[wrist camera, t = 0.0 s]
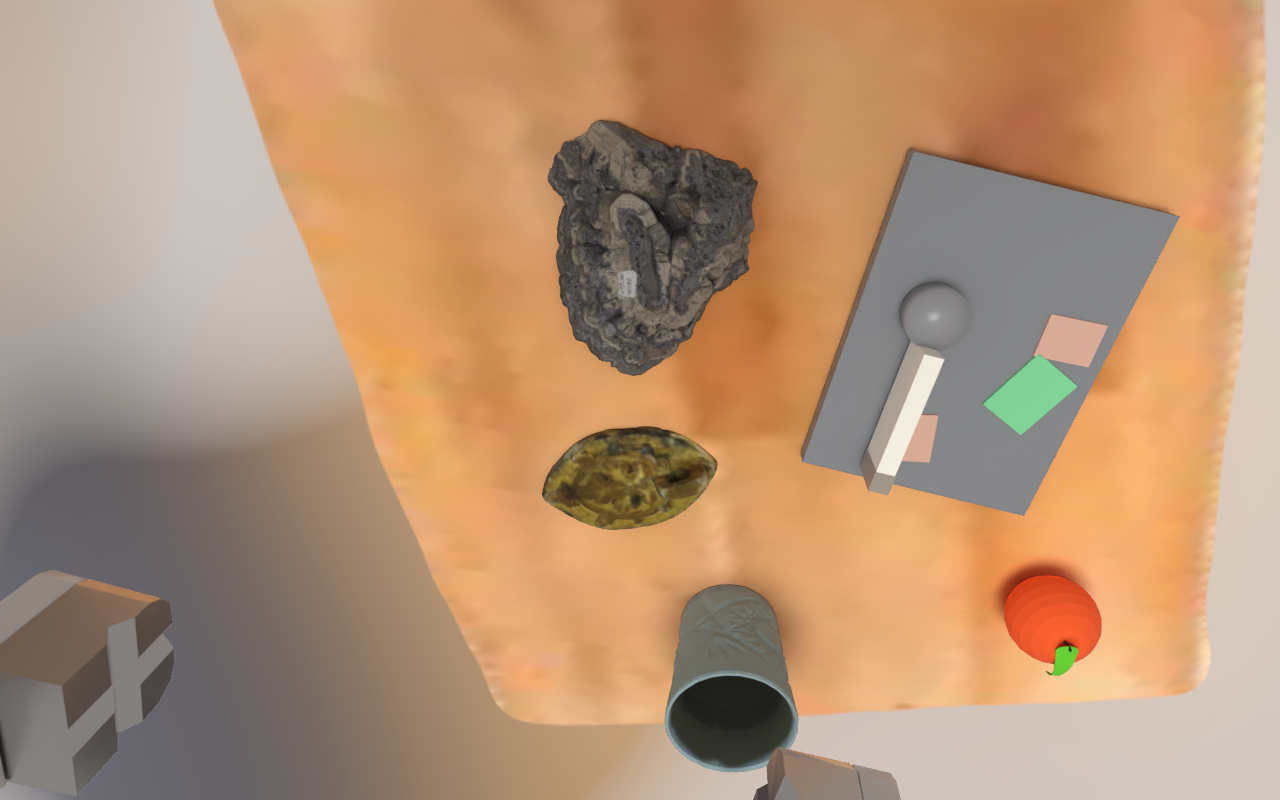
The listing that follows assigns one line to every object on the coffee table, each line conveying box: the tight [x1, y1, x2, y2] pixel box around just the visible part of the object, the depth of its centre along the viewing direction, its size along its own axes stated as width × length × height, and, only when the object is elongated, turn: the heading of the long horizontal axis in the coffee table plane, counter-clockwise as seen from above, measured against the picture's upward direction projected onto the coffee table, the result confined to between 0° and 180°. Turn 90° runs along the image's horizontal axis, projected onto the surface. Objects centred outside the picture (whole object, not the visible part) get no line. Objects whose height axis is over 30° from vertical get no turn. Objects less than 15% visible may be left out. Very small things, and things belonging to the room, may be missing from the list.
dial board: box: [801, 149, 1179, 516], centre depth 56 cm, size 24×18×2 cm
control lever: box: [860, 282, 972, 495], centre depth 54 cm, size 15×4×4 cm, turn 167°
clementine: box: [1004, 575, 1101, 676], centre depth 62 cm, size 8×7×7 cm
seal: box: [542, 427, 717, 530], centre depth 62 cm, size 9×5×15 cm
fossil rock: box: [548, 120, 757, 376], centre depth 55 cm, size 19×4×15 cm
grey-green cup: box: [665, 585, 798, 772], centre depth 63 cm, size 10×10×12 cm
